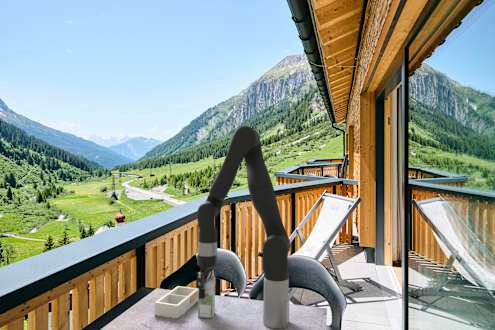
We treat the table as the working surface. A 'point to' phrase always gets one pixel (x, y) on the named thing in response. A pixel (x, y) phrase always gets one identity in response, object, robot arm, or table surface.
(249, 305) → the table surface
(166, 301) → the box
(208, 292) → the syrup box
